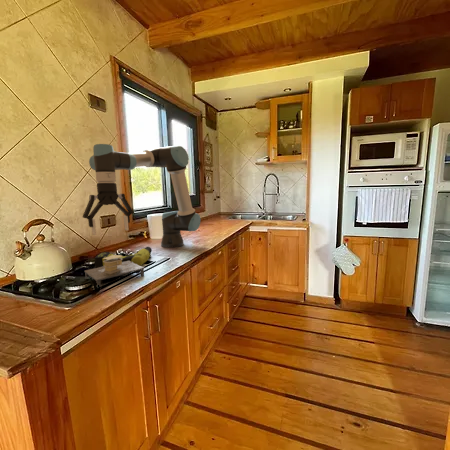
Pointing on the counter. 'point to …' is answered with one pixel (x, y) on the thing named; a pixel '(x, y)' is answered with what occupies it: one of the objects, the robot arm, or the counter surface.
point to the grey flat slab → (101, 275)
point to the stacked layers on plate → (113, 264)
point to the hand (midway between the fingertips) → (111, 232)
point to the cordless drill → (126, 257)
